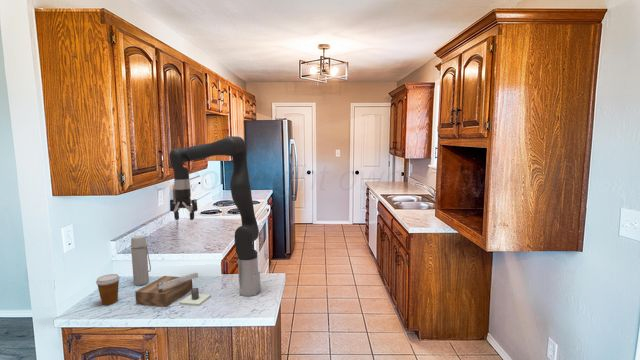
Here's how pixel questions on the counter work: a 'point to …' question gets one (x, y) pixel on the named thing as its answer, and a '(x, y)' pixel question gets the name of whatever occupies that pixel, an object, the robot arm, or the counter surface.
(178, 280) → the latch bar
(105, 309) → the counter surface
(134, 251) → the water bottle
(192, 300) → the lid
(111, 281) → the disposable coffee cup
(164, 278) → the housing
